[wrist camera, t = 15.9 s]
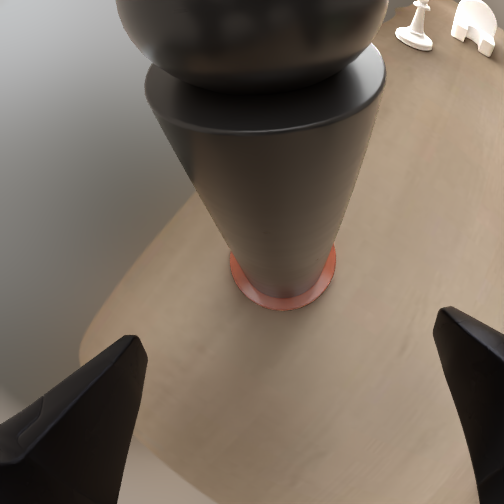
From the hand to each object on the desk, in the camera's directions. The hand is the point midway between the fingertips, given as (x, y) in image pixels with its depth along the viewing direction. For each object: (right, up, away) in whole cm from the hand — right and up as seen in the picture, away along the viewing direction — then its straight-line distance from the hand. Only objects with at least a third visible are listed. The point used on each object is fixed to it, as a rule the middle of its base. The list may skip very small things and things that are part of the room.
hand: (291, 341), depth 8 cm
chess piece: (+19, +28, +16) cm, 37 cm away
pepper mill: (+1, +2, +8) cm, 9 cm away
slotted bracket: (+35, +38, +17) cm, 54 cm away
